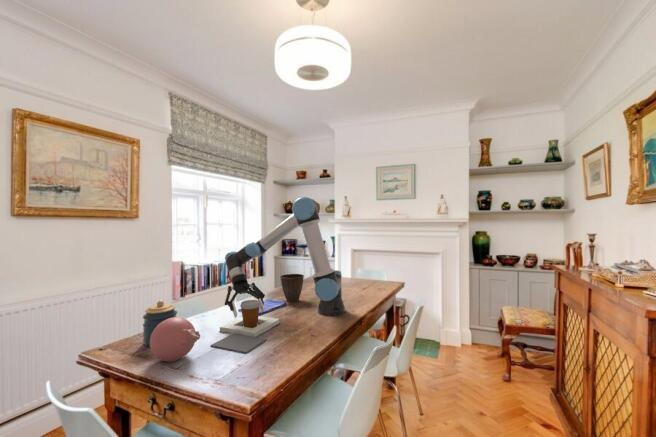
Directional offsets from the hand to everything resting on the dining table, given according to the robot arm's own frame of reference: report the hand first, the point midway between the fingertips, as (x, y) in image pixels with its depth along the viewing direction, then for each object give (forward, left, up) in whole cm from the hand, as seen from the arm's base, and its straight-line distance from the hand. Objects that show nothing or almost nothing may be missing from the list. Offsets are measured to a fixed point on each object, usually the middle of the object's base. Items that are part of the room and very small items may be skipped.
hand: (249, 313), depth 148 cm
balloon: (+3, +39, -7) cm, 39 cm away
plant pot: (+5, -49, -7) cm, 50 cm away
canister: (+25, +29, -7) cm, 39 cm away
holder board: (0, 0, -7) cm, 7 cm away
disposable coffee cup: (0, 0, -7) cm, 7 cm away
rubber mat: (-8, +18, -7) cm, 20 cm away
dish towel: (+13, -29, -7) cm, 33 cm away
